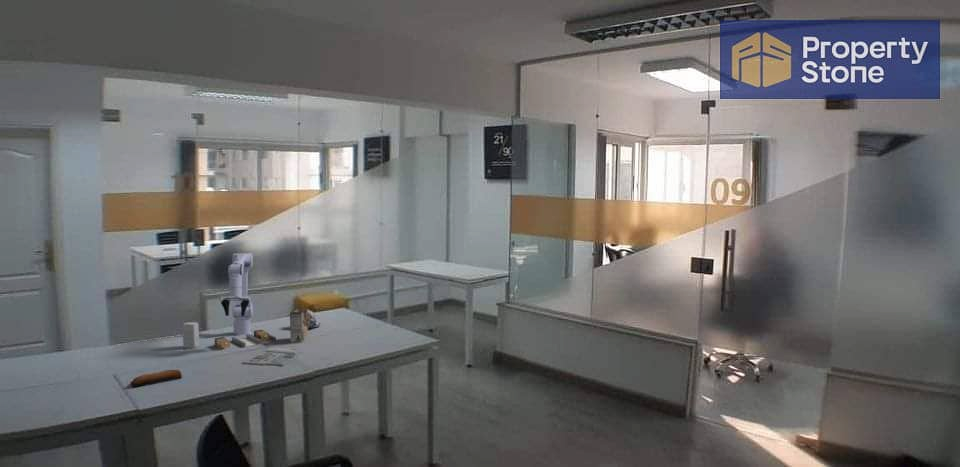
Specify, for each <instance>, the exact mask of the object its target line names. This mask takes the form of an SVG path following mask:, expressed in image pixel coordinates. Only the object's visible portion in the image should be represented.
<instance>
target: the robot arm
mask: <svg viewBox="0 0 960 467" xmlns="http://www.w3.org/2000/svg"><path fill="white" fill-rule="evenodd" d="M231 255H232V258H231V260H232V261H231V262H232V263H231V264H230V265H229V266H228V268H227V269H228V280H229V285H228V286H229V288H228V289H229V290H228V293H229V294H228V296H227V295H226V296H219V302H220V305H221V306H222V308H223V311H224V315H225V317H227V316H230V305H231V304H230V303H231V302H234V303H233V305H232V318H233V319H234V320H233V332H232V333H231V334H233V335H235V336H238V337H243V336H246V335H247V334H250V335H254V332H251V329H252V328H251V318H252V317H253V316H254V306H253V305H254V304H253V303H252V300H251V299H252V297H251V296H248V288H249V285H248V284H249V280H248V279H249V271H250V270H252V269H253V266H254V265H253V260H254V255H253V253H252V252H249V253H248V252H245V253H244V252H243V253H241V252H240V253H235V252H234V253H233V254H231Z"/></svg>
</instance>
